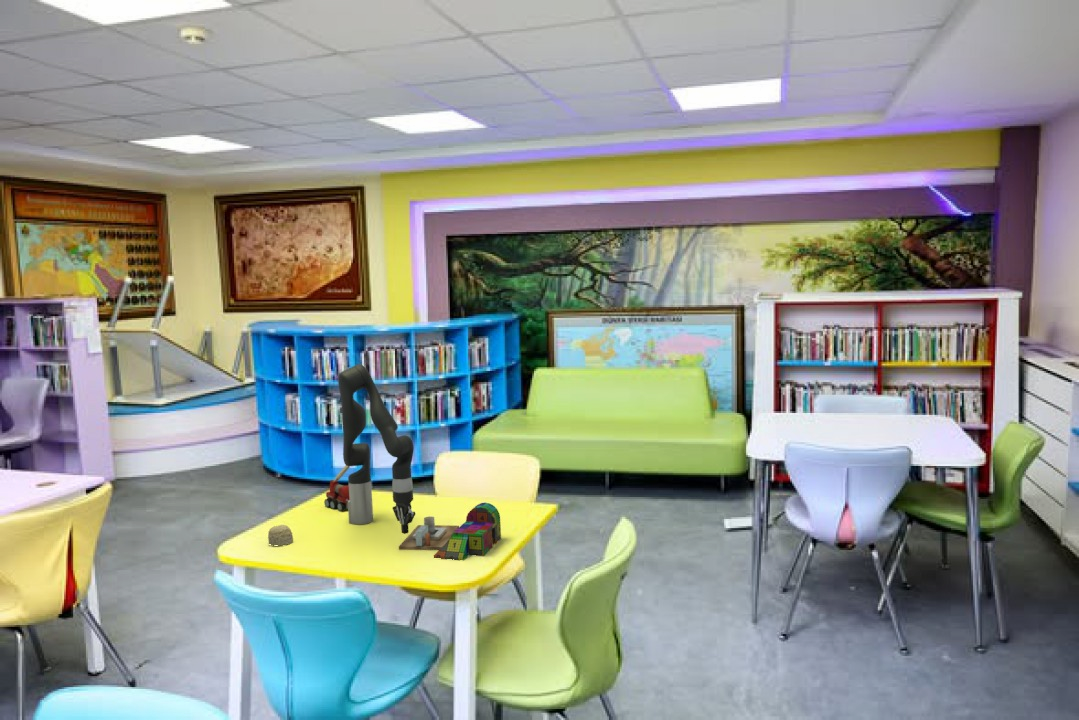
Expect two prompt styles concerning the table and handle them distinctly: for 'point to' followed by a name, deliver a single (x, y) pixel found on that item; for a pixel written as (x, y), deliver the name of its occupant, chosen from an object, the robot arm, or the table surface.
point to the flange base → (433, 543)
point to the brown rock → (280, 535)
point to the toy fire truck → (338, 493)
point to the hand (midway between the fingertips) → (405, 533)
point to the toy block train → (474, 534)
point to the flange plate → (423, 530)
